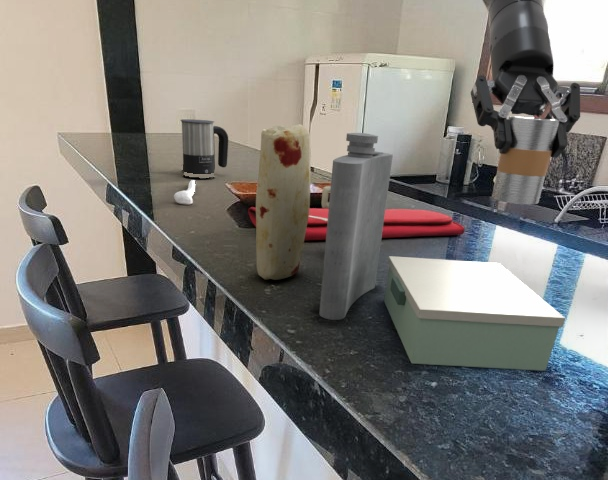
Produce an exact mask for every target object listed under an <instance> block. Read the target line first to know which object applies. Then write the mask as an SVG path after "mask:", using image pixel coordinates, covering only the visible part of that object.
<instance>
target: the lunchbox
mask: <svg viewBox="0 0 608 480" xmlns="http://www.w3.org/2000/svg"><path fill="white" fill-rule="evenodd" d="M387 265H388V270H387V277H386V283H385V284H386V285H385V290H384V297H383V302H384V304H385V307H386V309H387V312H388V314H389V316H390V317H391V318H390V319H391V321H392V323H393V326H394V327H395V330H396V331H397V334H398V337H399V339H400V341H401V343H402V345H403V348H404V350H405V353H406V355H407V357H408V360H409V361H410V363H411V364H413V365H428V366H429V365H430V366H447V367H468V368H487V369H502V370H503V369H504V370H520V371H523V370H524V371H540V372H546V371H547V367H548V364H549V362H550V358H551V355H552V352H553V349H554V346H555V342H556V339H557V336H558V333H559V331H560V328H563V327H564V324H565V321H566V317H565V316H564V315H562V313H560V312H559V311H558V310H556V309H555V308H554V307H553V306H552V305H550V304H549V303H548V302H546V301H545V300H544V298H542V297H541V296H540V295H538V294H537V293H536V292H535V291H534V290H532V288H530V287H529V286H527V285H526V283H524V282H522V281H521V280H520V279H519V278H518V277H516V276H515V275H514V274H513V273H512V272H511V271H509V269H507V268H506V267H504V266H503V264H501V263H499V262H488V261H487V262H485V261H471V260H470V261H469V260H455V259H442V258H427V257H426V258H424V257H409V256H394V255H391V256H390V255H388V257H387Z"/></svg>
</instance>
